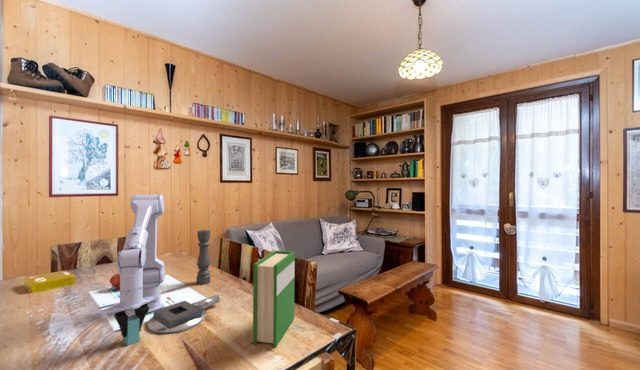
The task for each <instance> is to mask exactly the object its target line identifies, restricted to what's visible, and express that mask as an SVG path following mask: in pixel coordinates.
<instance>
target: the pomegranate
mask: <svg viewBox="0 0 640 370" xmlns="http://www.w3.org/2000/svg"><path fill="white" fill-rule="evenodd" d="M109 283H110V284H111V287H110V288H109V290H108V291H110V290H112V289H113V288H115V290H117V291H120V275H119V274H118V273H116V274H114V275H112V276H111V277H110V279H109Z"/></svg>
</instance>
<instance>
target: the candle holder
mask: <svg viewBox="0 0 640 370" xmlns="http://www.w3.org/2000/svg"><path fill="white" fill-rule="evenodd" d="M210 238H211V230H209V229H202V230H201V229H200V230H198V231H197V240H198V242H199V243H197V245H198V247H199V251H198V252H199V253H198V256H197V257H198V258H197V260H196V261H197V262H196V267H197V268H198V272H197V273H196V274H197V275H196V285H199V286H200V285H201V286H204V285H208V284H210V283H211V274H210V273H211V271H210V270H209V268H210V265H211V259H210V255H209V246H210V242H209V241H210Z"/></svg>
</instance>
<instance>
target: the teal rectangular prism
mask: <svg viewBox="0 0 640 370" xmlns="http://www.w3.org/2000/svg"><path fill="white" fill-rule="evenodd" d="M139 325H140V318H139V317H137V316H136V315H135V314H132V315H128V321H127V336H126V337H123V336H122V342H123V343H125V345H126V346H128V347H129V346H131V345H134V344H136V343H139V342H140V332H139Z"/></svg>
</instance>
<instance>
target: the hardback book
mask: <svg viewBox="0 0 640 370" xmlns="http://www.w3.org/2000/svg"><path fill="white" fill-rule="evenodd" d="M295 253H296V251H285V250H274V251H272V252H271V253H269V254H267V255H266V256H264V257H262V258H261V259H259V260H258V261H256V262H255V263H253V268H252V269H253V274H252V275H253V284H252V286H253V287H252V289H253V294H252V299H253V300H252V345H255V346H256V345H257V344H258V343H259V342H261V343H267V344H273V345H272V347H273V348H277V347H278V346H279V344H280V342H281V341H282V339H283V338H284V336H285V335H286V333H287V331H289V328H290V326H291V325H292V323H293V322H294V320H295V274H296V273H295V270H296V269H295V267H296V266H295V265H296V264H295V263H296V261H295V256H296V255H295Z"/></svg>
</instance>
